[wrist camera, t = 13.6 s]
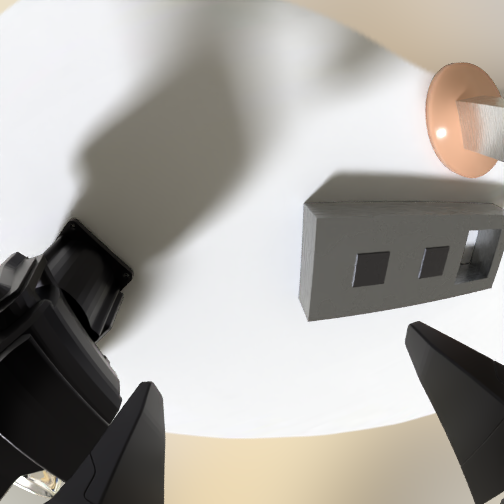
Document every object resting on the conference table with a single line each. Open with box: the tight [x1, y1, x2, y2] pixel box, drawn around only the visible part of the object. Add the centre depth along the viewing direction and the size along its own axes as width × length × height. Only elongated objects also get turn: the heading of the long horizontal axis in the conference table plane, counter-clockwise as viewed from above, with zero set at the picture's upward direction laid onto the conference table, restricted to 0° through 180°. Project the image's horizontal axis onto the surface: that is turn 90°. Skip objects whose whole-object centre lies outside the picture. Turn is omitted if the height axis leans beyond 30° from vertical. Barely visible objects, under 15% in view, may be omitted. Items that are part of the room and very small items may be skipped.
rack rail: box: [299, 201, 504, 322], centre depth 22 cm, size 20×8×3 cm, turn 91°
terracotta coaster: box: [426, 63, 501, 178], centre depth 18 cm, size 10×10×1 cm
